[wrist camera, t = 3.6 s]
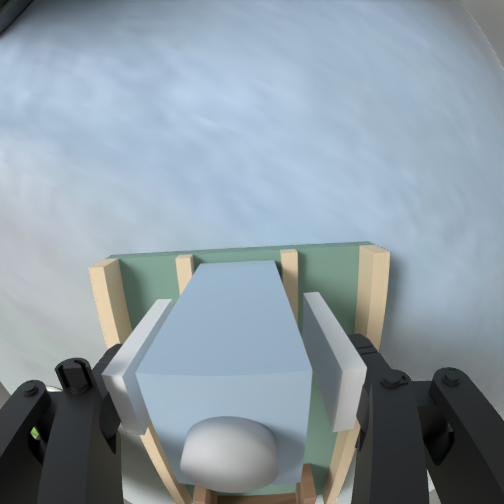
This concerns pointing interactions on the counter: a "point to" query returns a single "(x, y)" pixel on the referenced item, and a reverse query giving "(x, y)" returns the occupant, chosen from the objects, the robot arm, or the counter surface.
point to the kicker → (230, 381)
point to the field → (295, 284)
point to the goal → (300, 500)
